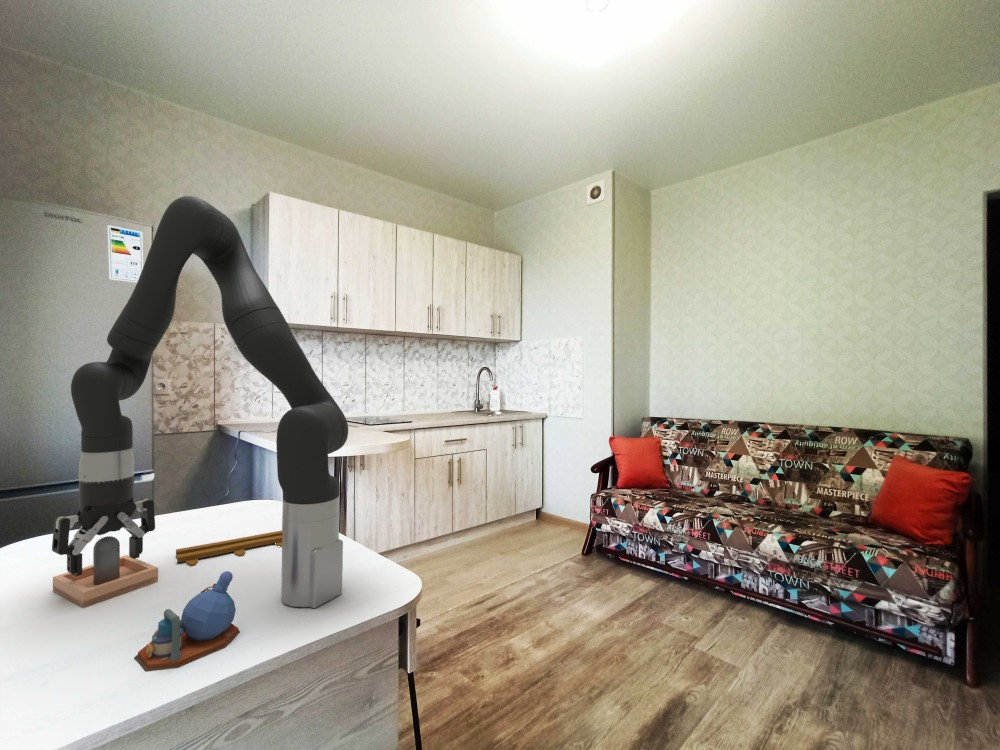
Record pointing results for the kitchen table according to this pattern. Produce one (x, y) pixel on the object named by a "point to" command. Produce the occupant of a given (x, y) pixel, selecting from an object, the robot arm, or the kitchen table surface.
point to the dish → (88, 593)
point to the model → (192, 630)
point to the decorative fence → (227, 547)
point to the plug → (106, 560)
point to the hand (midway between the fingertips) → (106, 565)
